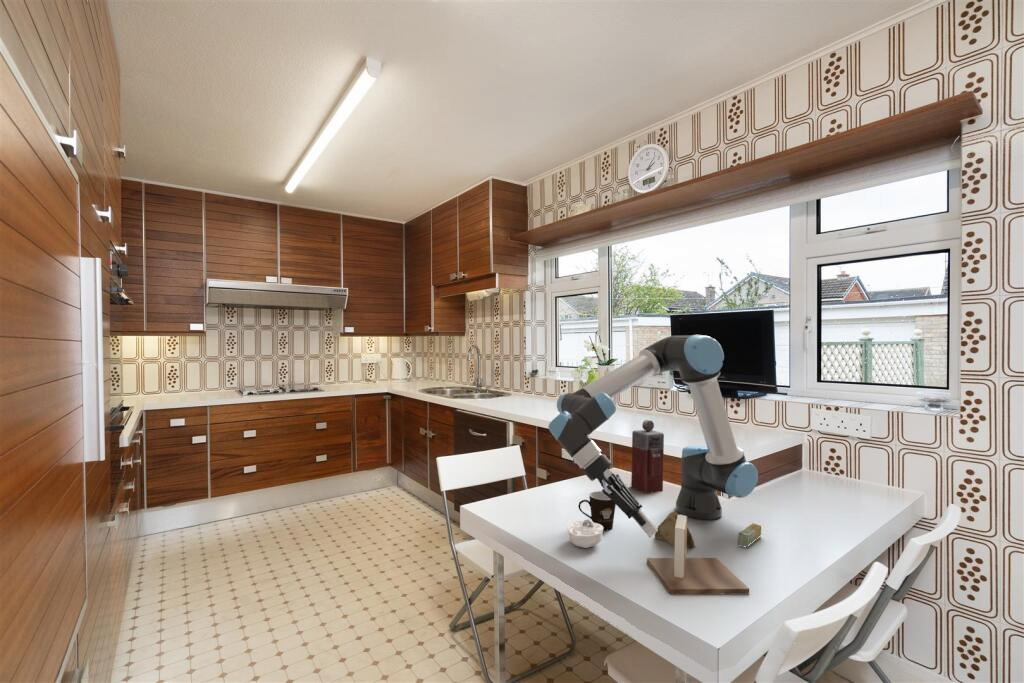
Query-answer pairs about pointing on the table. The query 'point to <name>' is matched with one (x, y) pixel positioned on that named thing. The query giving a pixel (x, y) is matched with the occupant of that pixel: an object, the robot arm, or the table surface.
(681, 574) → the tile
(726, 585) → the board
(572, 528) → the cell model
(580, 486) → the table surface
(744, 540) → the medication box
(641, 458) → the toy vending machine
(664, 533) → the rock
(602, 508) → the coffee mug
